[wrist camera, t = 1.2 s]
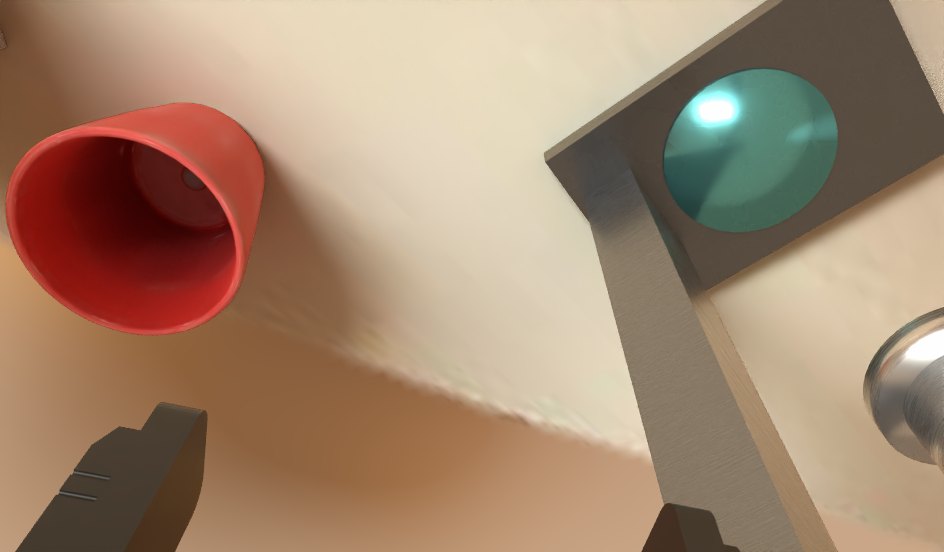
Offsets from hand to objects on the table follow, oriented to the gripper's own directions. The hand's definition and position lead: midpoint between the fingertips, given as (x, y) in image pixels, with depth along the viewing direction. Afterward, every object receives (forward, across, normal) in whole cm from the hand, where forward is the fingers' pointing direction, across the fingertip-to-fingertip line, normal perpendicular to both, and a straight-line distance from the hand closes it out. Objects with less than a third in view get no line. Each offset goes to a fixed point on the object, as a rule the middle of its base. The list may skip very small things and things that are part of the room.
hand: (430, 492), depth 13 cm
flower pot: (+31, +14, +9) cm, 35 cm away
